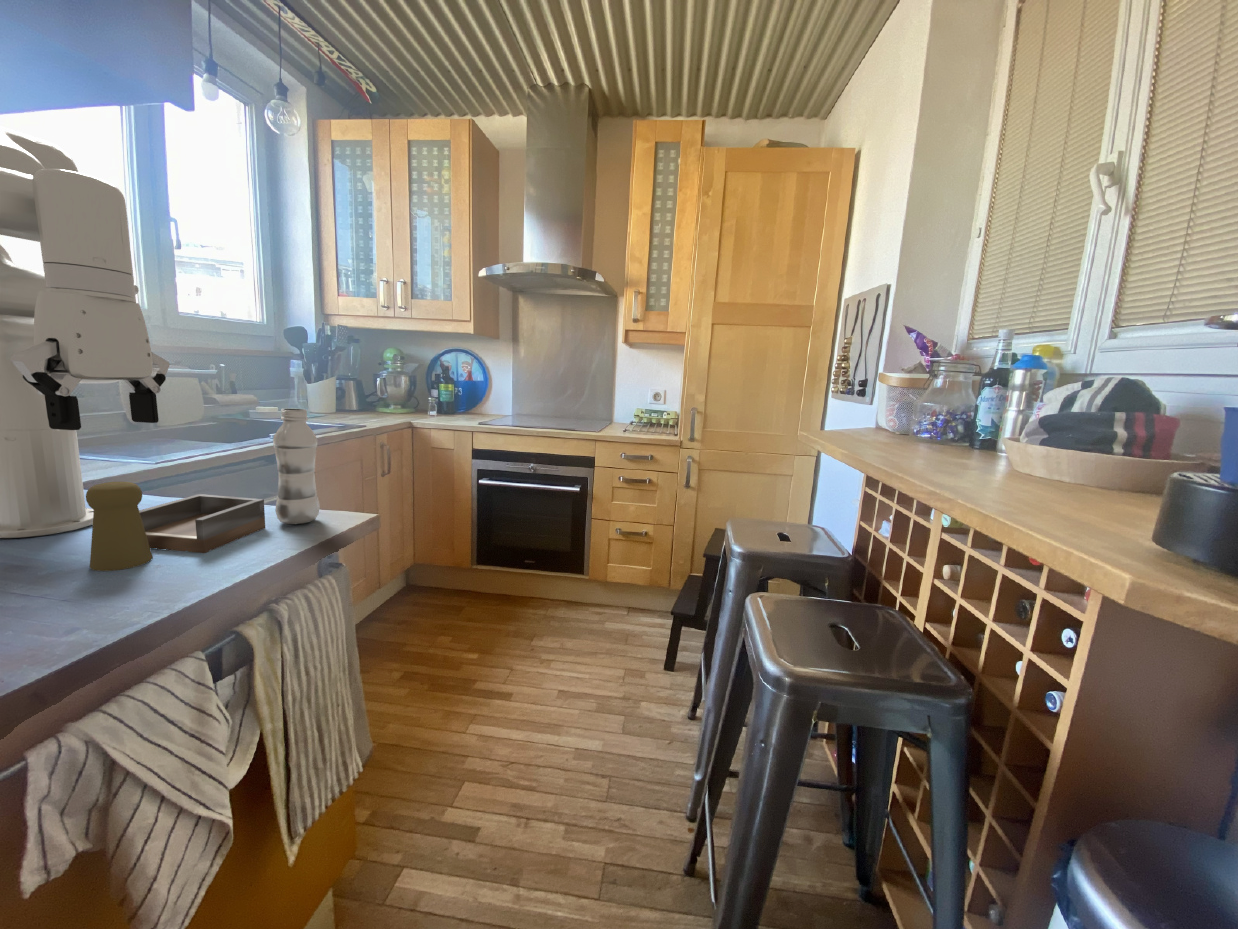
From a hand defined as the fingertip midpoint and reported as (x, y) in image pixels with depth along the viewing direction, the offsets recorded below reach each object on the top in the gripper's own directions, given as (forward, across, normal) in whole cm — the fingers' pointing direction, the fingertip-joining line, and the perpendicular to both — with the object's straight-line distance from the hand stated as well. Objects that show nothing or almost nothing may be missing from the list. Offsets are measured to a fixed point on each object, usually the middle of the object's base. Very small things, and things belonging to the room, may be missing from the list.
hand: (108, 425), depth 63 cm
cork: (+19, 0, -1) cm, 19 cm away
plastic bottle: (+19, -21, +9) cm, 30 cm away
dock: (+19, -11, +1) cm, 22 cm away
